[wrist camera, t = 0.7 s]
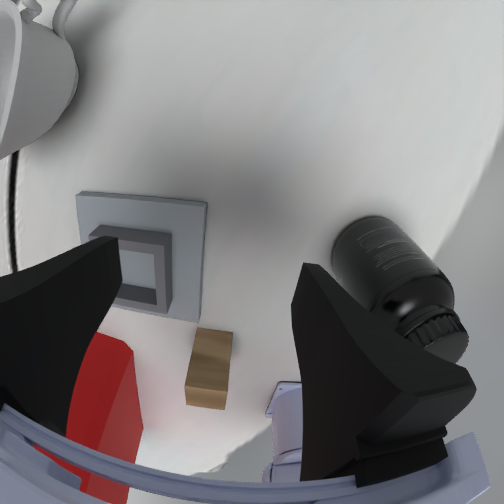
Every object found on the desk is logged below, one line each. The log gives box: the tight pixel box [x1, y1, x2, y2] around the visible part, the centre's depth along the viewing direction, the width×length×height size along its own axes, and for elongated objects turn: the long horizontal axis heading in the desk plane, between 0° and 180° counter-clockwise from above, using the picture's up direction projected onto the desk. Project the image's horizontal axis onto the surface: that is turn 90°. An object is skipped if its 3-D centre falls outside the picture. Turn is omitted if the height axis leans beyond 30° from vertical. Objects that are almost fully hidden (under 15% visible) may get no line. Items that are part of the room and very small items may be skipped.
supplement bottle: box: [332, 217, 469, 364], centre depth 16 cm, size 7×7×12 cm
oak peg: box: [185, 328, 233, 410], centre depth 23 cm, size 4×4×7 cm
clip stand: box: [76, 192, 207, 323], centre depth 20 cm, size 11×11×3 cm
